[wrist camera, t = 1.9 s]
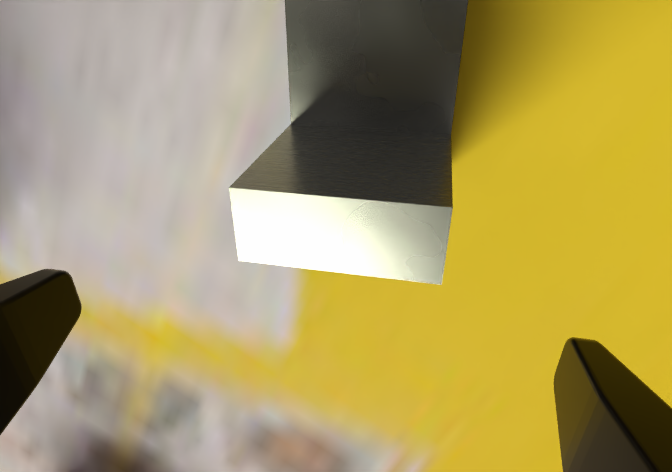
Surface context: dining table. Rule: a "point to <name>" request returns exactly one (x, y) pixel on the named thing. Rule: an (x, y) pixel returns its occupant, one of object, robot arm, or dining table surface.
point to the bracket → (359, 143)
